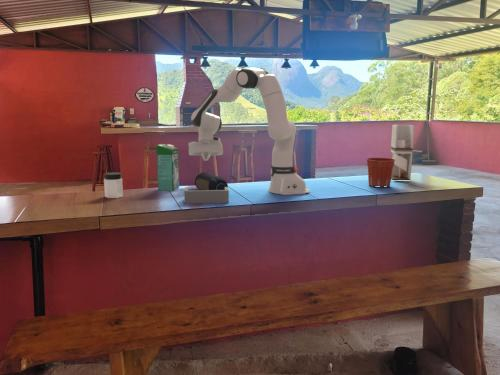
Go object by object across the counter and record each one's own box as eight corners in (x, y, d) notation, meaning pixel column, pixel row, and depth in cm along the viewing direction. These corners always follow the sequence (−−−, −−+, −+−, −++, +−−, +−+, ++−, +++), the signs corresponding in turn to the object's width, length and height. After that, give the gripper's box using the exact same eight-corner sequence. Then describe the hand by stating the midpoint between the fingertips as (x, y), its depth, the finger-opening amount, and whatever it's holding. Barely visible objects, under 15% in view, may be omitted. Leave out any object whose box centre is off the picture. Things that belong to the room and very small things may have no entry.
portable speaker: (192, 190, 237) (192, 172, 235) (208, 188, 242) (208, 170, 241) (212, 198, 216) (212, 178, 214) (230, 196, 222) (230, 177, 220)
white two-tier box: (388, 178, 279) (392, 124, 272) (405, 179, 278) (409, 125, 271) (392, 181, 268) (396, 125, 261) (410, 182, 267) (414, 125, 260)
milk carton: (173, 190, 234) (172, 145, 229) (157, 190, 236) (156, 144, 231) (179, 187, 243) (178, 143, 238) (164, 187, 244) (162, 143, 240)
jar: (113, 194, 223) (112, 171, 221) (126, 195, 220) (125, 172, 218) (101, 197, 215) (100, 174, 213) (114, 199, 212) (113, 175, 210)
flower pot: (359, 185, 254) (360, 158, 251) (374, 182, 265) (376, 156, 262) (383, 189, 242) (385, 161, 239) (399, 186, 252) (401, 159, 249)
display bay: (227, 198, 215) (227, 186, 214) (228, 202, 206) (228, 190, 205) (185, 199, 213) (185, 187, 212) (184, 203, 204) (184, 191, 203)
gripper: (188, 138, 252) (187, 156, 244) (222, 138, 254) (223, 156, 246) (188, 145, 257) (188, 163, 249) (222, 145, 259) (223, 163, 251)
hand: (206, 159), depth 248 cm, fingers closed
